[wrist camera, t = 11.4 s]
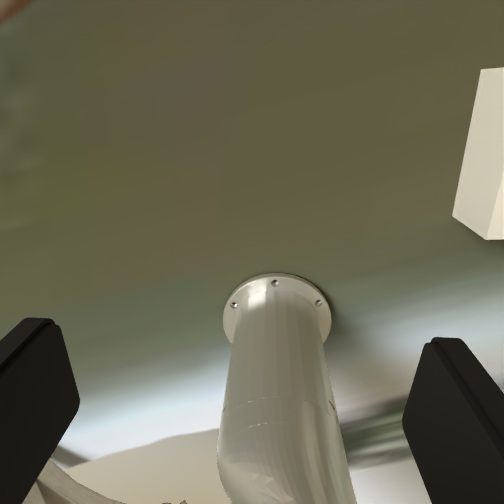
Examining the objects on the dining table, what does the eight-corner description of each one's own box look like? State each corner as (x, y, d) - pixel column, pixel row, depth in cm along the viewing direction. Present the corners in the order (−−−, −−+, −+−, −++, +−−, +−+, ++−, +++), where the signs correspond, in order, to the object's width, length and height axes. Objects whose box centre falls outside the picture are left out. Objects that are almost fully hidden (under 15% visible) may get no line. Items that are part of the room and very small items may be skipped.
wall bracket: (105, 368, 68) (191, 512, 58) (96, 380, 70) (178, 522, 59) (-30, 419, 49) (62, 648, 39) (-38, 435, 51) (49, 658, 40)
